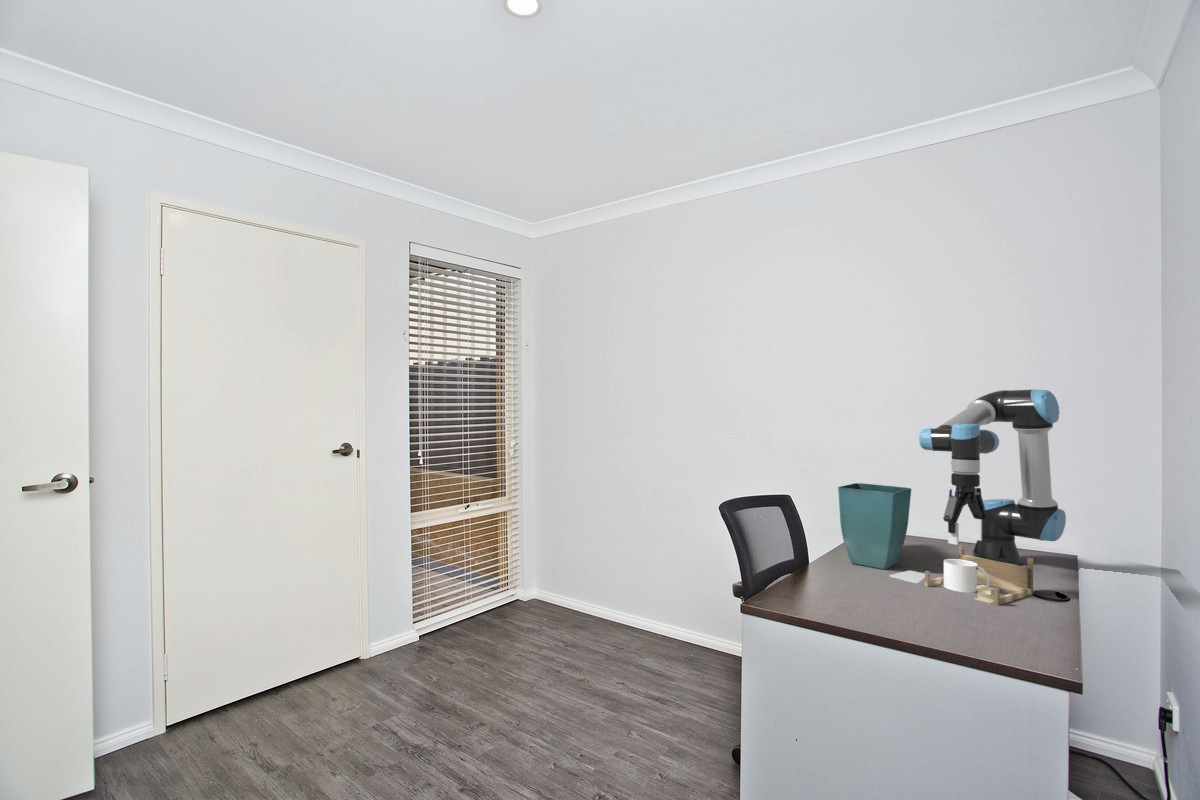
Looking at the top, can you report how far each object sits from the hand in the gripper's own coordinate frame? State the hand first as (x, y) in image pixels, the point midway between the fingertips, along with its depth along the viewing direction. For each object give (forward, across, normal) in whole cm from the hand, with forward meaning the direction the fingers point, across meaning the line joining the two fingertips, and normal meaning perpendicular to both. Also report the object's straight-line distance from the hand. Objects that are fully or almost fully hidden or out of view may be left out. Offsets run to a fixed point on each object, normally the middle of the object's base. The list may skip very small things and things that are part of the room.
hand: (965, 541), depth 183 cm
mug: (+16, 0, 0) cm, 16 cm away
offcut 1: (+12, +5, +9) cm, 16 cm away
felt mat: (+16, -3, -17) cm, 23 cm away
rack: (+16, -2, +2) cm, 16 cm away
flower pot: (+16, -8, -36) cm, 40 cm away
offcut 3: (+16, +5, +9) cm, 19 cm away
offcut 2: (+14, +5, +9) cm, 18 cm away
